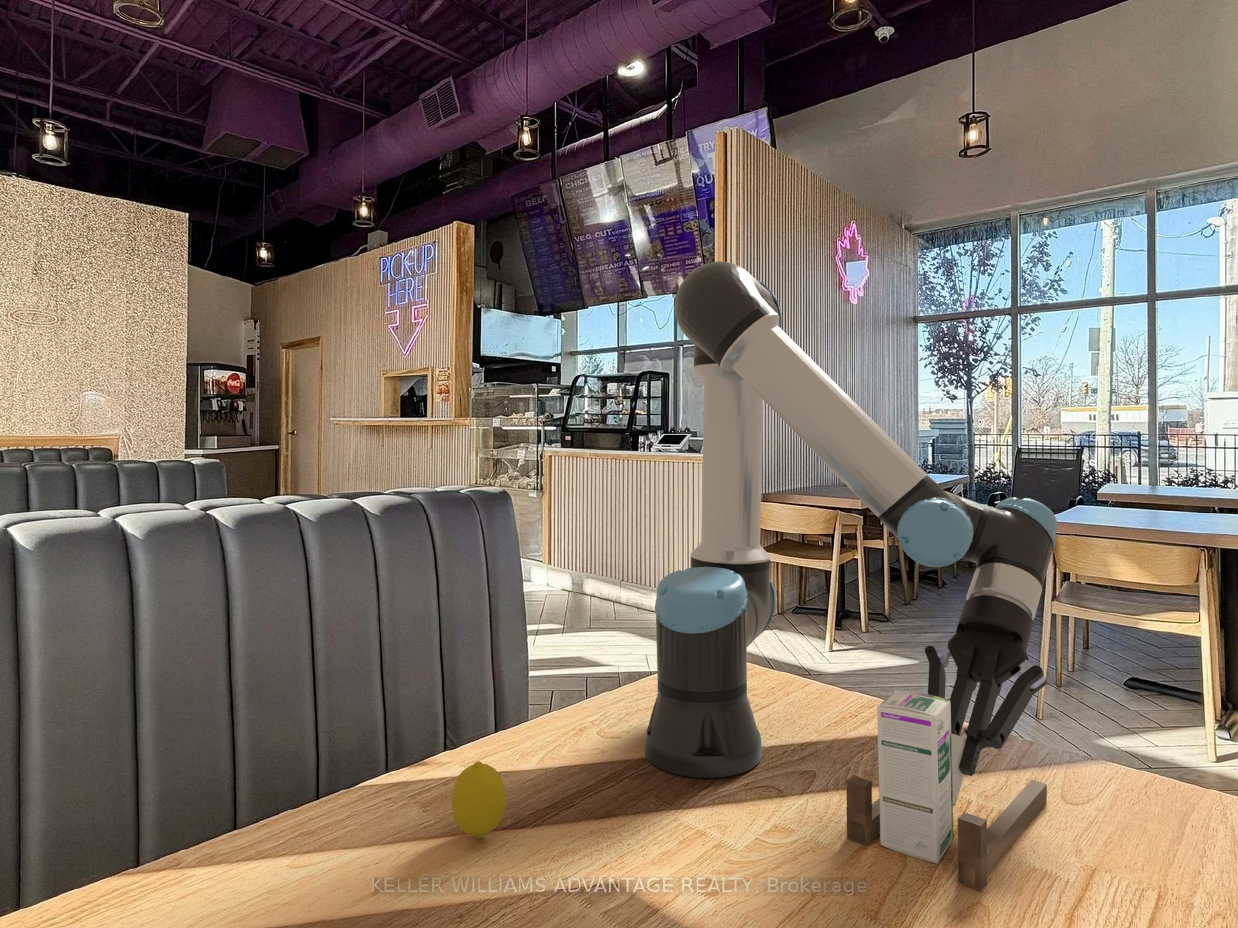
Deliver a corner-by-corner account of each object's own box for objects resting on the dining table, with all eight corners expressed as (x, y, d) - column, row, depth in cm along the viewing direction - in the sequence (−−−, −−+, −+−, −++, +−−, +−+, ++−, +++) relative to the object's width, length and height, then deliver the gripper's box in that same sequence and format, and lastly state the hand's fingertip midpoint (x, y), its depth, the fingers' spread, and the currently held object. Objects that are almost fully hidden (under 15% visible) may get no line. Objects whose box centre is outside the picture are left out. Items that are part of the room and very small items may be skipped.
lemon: (460, 858, 72) (458, 778, 72) (446, 832, 77) (444, 757, 77) (514, 843, 75) (512, 766, 74) (497, 819, 79) (495, 746, 79)
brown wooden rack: (846, 837, 75) (846, 779, 74) (933, 767, 90) (933, 719, 90) (981, 891, 65) (980, 825, 65) (1051, 802, 81) (1051, 749, 81)
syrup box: (939, 865, 69) (939, 715, 69) (877, 845, 73) (876, 702, 73) (954, 839, 74) (953, 698, 74) (894, 821, 78) (893, 686, 77)
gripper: (1067, 638, 84) (1021, 836, 73) (951, 620, 94) (894, 793, 82) (1053, 600, 81) (1003, 803, 69) (934, 585, 90) (872, 762, 79)
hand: (944, 797), depth 76 cm, fingers closed
